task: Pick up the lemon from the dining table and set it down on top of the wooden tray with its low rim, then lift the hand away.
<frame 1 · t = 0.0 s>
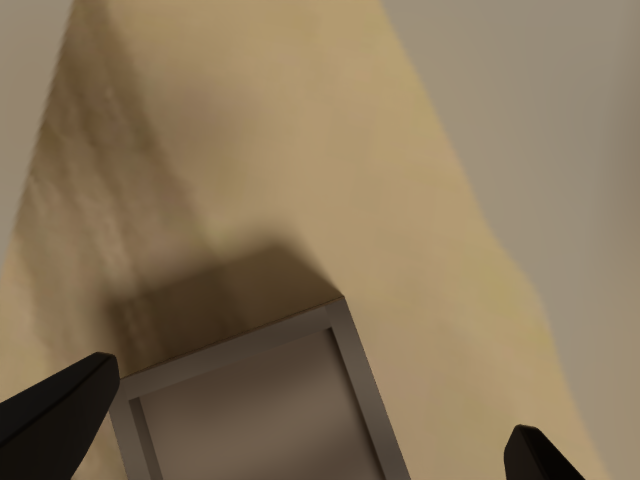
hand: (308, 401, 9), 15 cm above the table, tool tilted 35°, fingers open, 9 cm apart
wooden tray: (292, 468, 23), on the table
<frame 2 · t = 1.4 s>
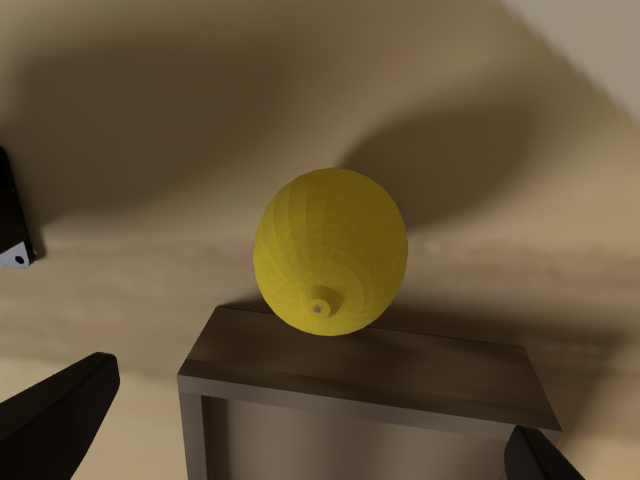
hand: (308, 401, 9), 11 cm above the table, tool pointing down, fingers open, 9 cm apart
lemon: (339, 205, 19), on the table
wooden tray: (353, 408, 25), on the table
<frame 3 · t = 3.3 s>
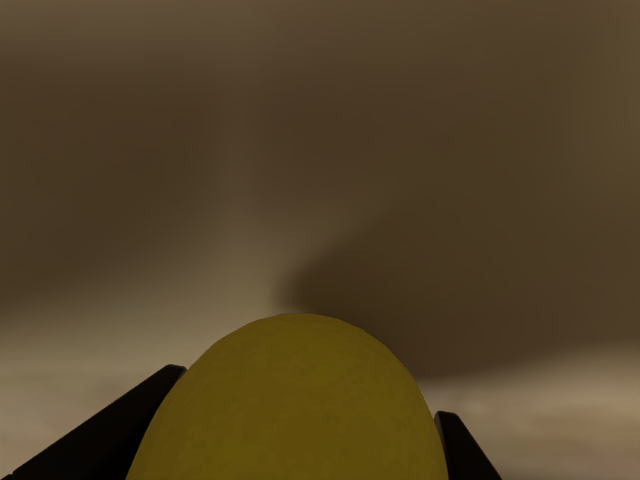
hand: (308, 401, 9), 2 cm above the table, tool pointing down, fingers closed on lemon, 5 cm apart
lemon: (320, 336, 11), on the table, touching gripper
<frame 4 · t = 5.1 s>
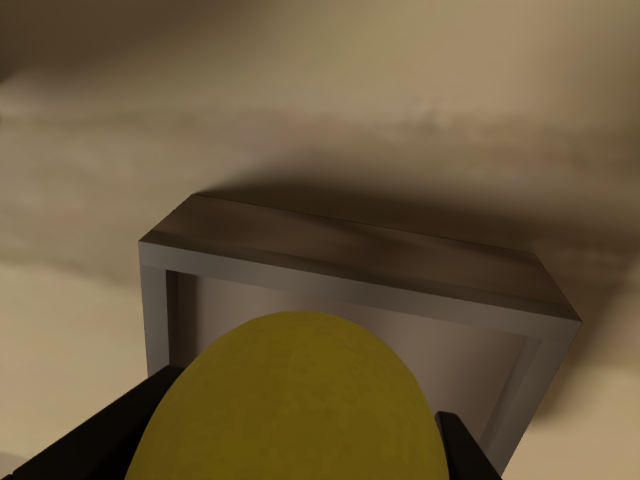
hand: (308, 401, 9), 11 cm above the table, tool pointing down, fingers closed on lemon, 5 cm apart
lemon: (320, 334, 11), point 9 cm above the table, touching gripper
wooden tray: (339, 325, 22), on the table
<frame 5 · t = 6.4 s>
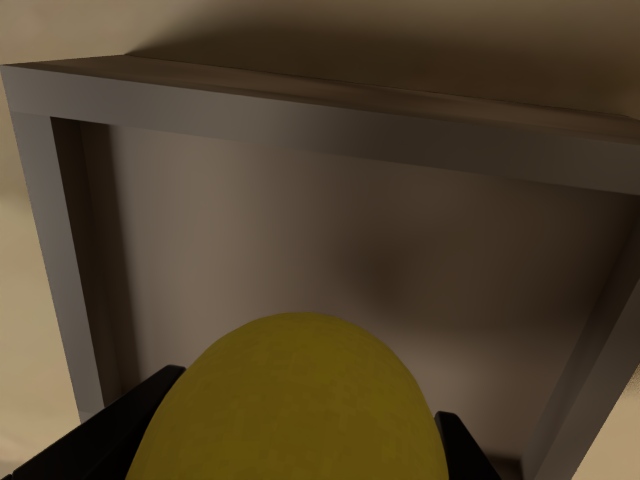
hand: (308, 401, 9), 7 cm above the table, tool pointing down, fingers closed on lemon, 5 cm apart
lemon: (320, 335, 11), point 5 cm above the table, touching gripper
wooden tray: (340, 250, 16), on the table
when the fingers open (7 cm above the table, at t = 6.9 s): lemon drops 1 cm, resting on wooden tray.
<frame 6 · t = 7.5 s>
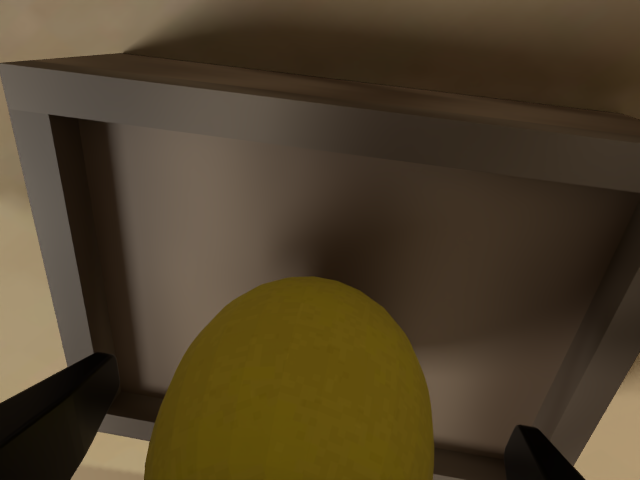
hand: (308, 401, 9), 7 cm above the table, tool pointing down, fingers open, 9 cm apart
lemon: (322, 304, 13), point 4 cm above the table, touching wooden tray
wooden tray: (338, 248, 16), on the table
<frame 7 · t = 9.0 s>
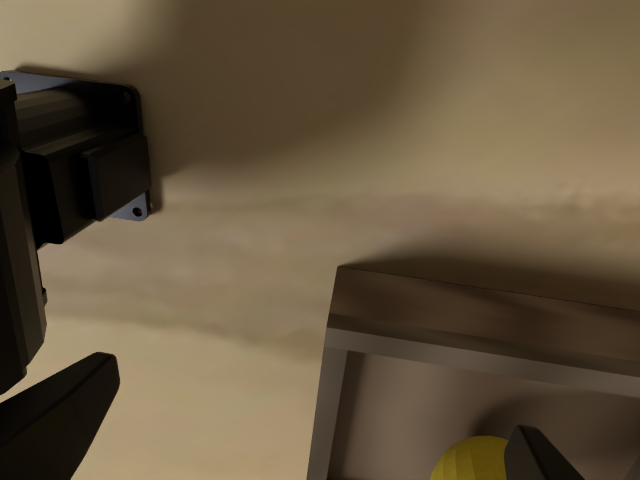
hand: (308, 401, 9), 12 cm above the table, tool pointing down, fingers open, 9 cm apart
lemon: (476, 435, 20), point 4 cm above the table, touching wooden tray
wooden tray: (465, 378, 24), on the table
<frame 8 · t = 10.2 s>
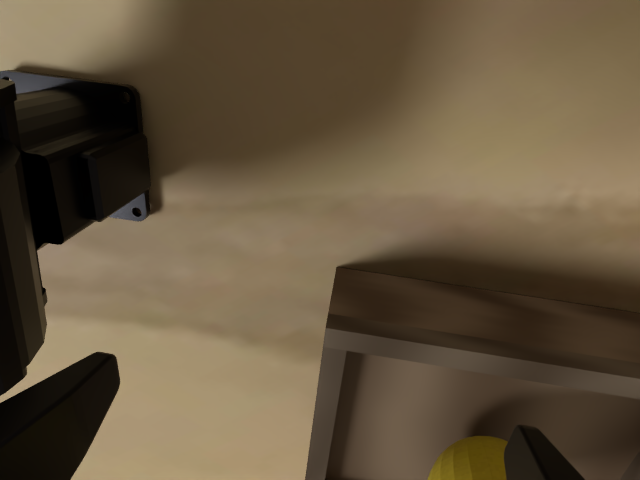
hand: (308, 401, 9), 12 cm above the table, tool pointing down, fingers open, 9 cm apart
lemon: (474, 435, 20), point 4 cm above the table, touching wooden tray
wooden tray: (463, 378, 24), on the table
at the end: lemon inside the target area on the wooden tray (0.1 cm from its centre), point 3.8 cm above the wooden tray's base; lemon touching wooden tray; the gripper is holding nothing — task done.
